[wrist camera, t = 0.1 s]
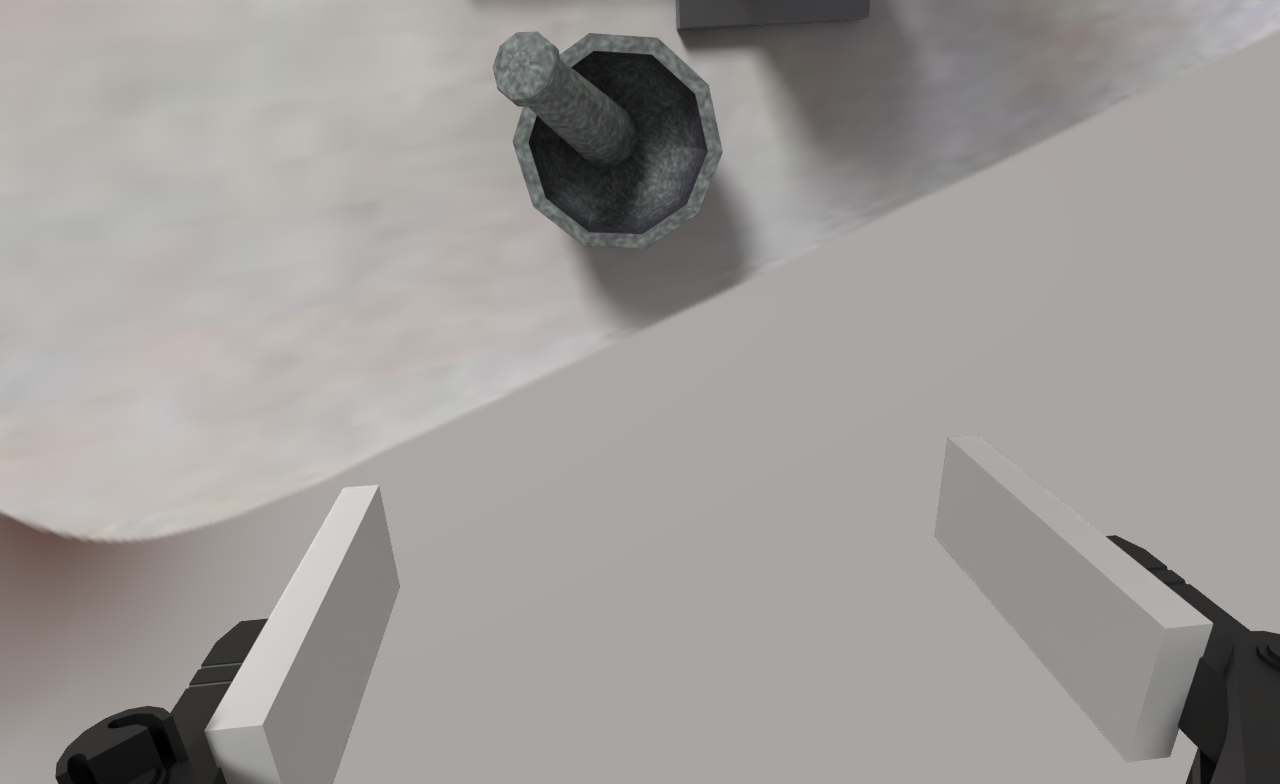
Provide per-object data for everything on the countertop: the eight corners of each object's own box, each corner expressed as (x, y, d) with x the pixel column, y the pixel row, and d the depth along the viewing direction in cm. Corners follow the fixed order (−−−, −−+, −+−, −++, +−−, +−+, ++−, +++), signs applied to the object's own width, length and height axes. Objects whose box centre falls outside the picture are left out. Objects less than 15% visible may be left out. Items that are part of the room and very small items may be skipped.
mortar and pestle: (731, 128, 40) (794, 139, 29) (627, 260, 42) (648, 316, 31) (570, -18, 37) (572, -68, 26) (466, 133, 39) (427, 146, 28)
